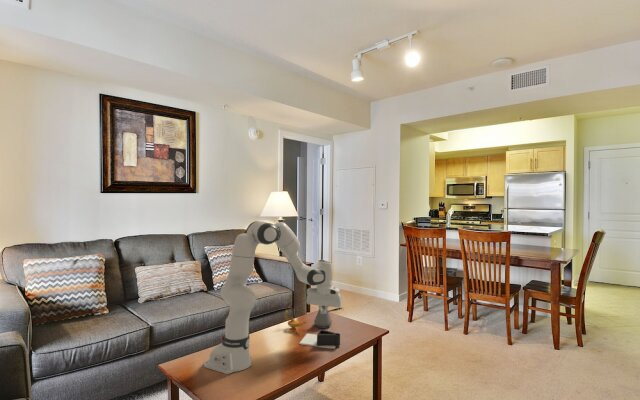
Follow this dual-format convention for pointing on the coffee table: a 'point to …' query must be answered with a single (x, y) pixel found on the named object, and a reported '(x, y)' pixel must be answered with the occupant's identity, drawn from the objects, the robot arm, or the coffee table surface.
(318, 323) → the coffee pot
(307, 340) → the mat
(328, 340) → the phone stand
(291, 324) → the magic lamp
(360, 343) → the coffee table surface
